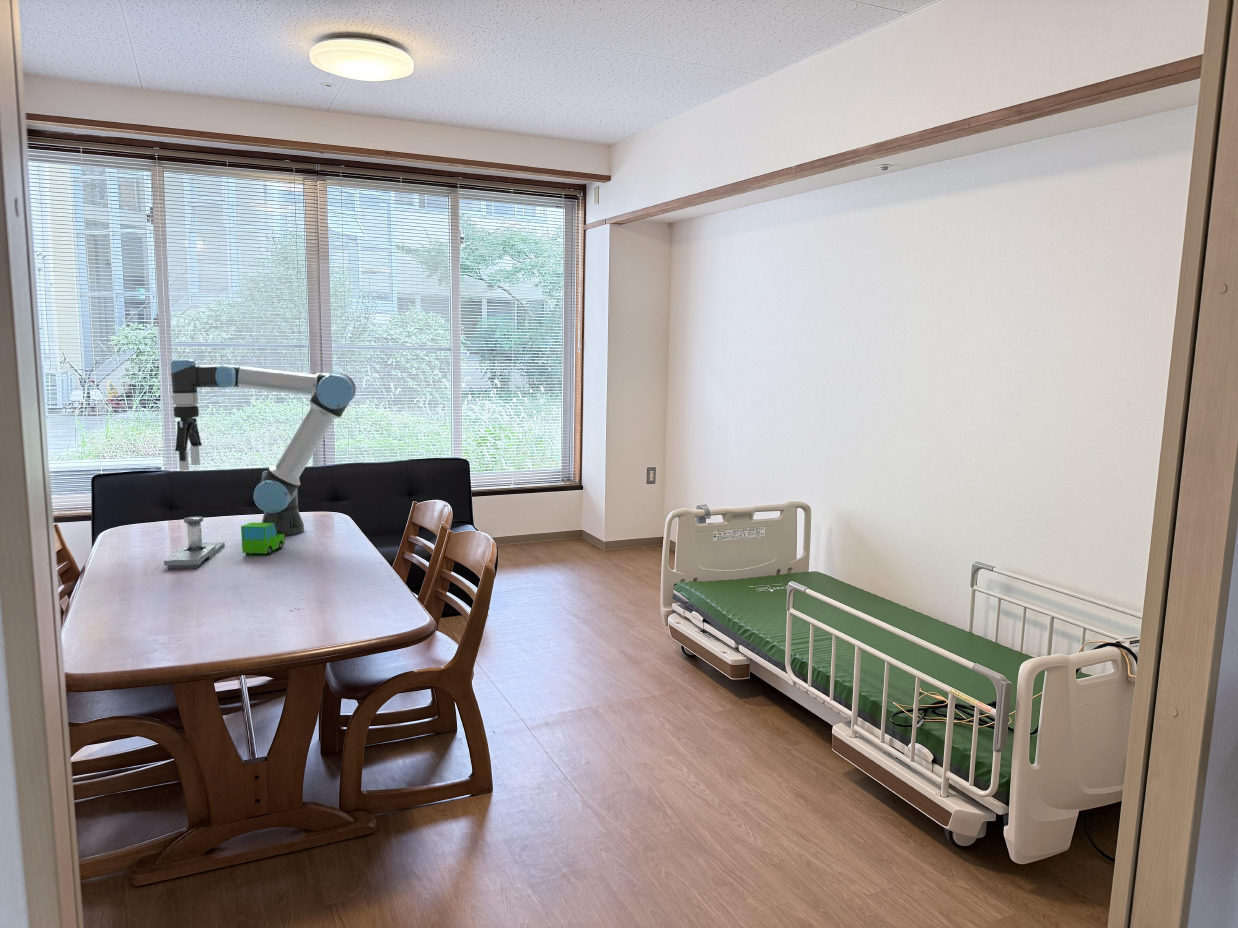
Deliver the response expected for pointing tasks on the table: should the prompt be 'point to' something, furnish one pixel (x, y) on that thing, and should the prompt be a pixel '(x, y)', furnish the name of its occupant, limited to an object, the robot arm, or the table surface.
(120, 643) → the table surface
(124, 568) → the table surface
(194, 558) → the plate with square hole
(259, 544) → the toy car
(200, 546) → the pin
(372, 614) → the table surface
